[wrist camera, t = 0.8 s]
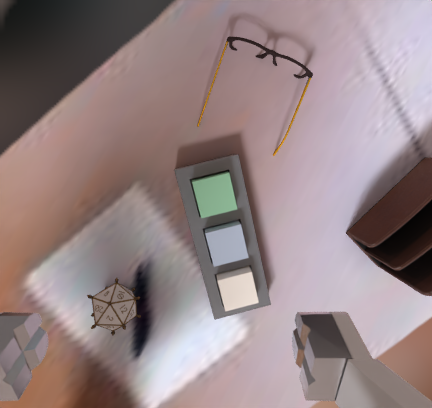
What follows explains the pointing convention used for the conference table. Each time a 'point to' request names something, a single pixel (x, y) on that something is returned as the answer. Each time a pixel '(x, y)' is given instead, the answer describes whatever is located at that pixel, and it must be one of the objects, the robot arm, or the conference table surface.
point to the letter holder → (402, 230)
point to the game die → (114, 307)
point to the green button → (214, 194)
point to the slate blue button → (226, 243)
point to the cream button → (237, 288)
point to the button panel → (241, 213)
